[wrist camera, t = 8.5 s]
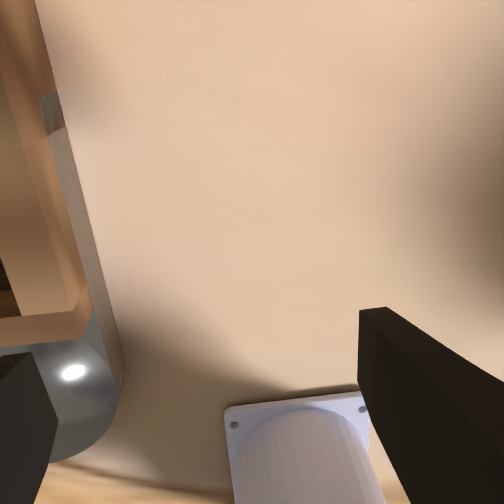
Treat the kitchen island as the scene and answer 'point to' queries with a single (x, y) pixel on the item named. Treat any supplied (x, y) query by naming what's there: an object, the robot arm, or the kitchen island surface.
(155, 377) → the kitchen island surface
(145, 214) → the kitchen island surface
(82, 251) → the dark steel end link
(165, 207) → the kitchen island surface
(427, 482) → the robot arm
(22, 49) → the walnut end link
